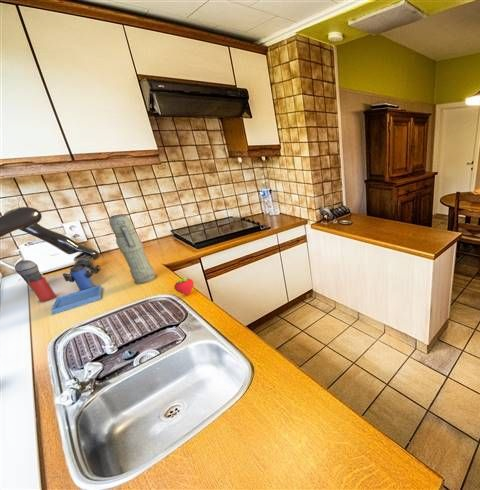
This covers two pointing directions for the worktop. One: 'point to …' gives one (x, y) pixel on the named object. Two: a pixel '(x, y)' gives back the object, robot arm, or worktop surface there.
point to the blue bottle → (81, 278)
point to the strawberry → (184, 286)
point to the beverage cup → (26, 269)
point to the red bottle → (41, 288)
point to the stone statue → (131, 249)
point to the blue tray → (77, 299)
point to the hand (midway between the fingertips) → (80, 278)
